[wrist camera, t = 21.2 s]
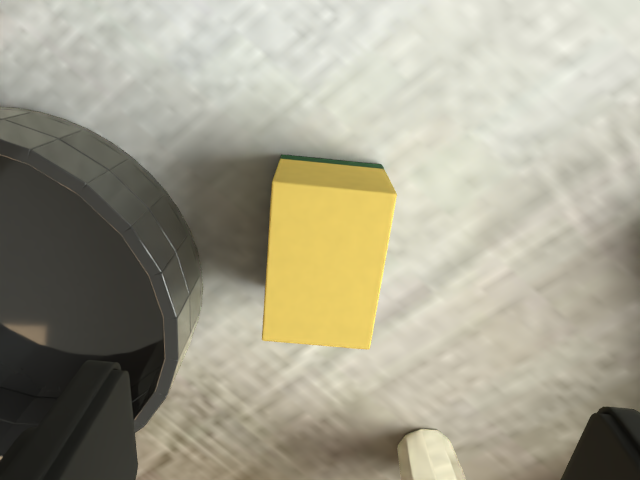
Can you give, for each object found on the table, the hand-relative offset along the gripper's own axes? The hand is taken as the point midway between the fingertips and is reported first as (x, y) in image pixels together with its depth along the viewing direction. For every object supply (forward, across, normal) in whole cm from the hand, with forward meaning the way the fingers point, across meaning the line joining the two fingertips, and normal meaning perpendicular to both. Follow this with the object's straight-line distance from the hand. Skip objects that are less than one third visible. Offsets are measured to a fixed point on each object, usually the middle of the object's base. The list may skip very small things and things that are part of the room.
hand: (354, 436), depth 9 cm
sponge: (+13, +1, +1) cm, 13 cm away
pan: (+13, +14, +5) cm, 20 cm away
